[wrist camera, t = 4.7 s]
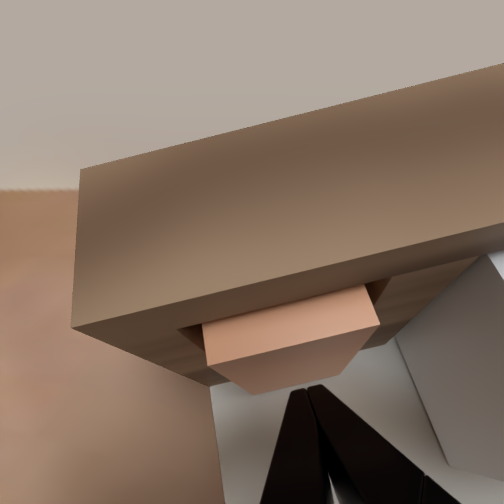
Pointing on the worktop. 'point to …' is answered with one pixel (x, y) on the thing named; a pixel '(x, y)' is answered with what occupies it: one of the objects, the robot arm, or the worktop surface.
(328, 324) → the terracotta plug
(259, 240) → the socket block
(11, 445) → the worktop surface
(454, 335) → the grey plug
